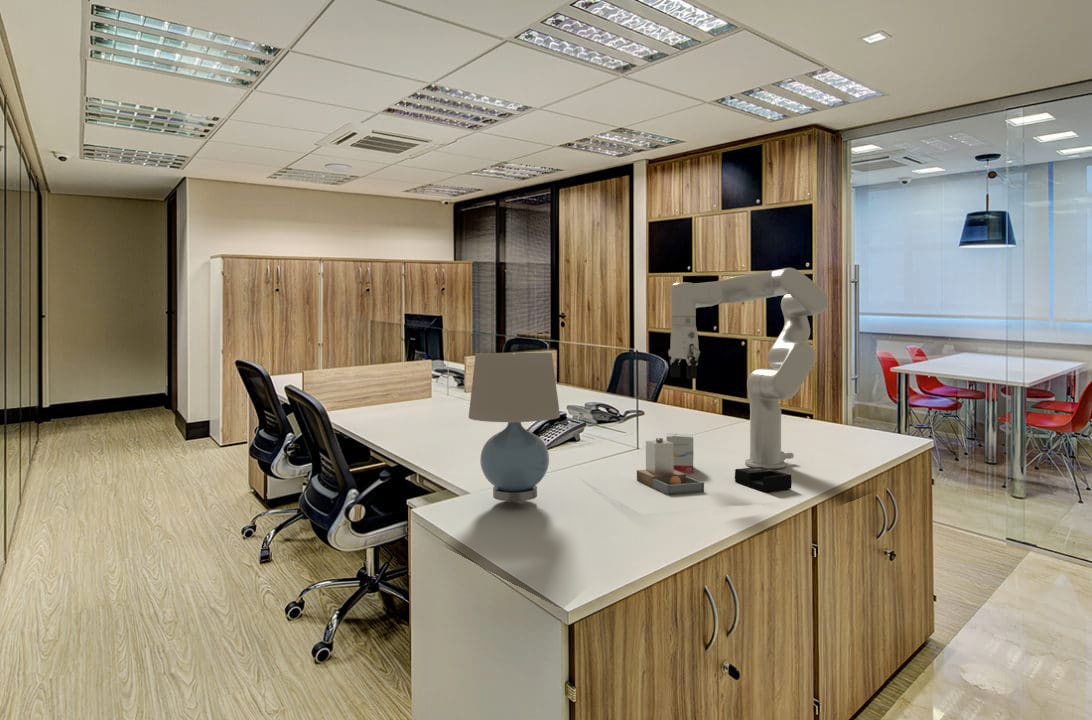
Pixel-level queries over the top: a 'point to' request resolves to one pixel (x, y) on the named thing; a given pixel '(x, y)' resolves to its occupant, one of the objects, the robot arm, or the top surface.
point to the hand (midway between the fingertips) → (683, 377)
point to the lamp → (514, 419)
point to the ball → (675, 480)
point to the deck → (654, 476)
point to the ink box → (682, 451)
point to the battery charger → (763, 479)
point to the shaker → (659, 456)
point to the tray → (677, 485)
